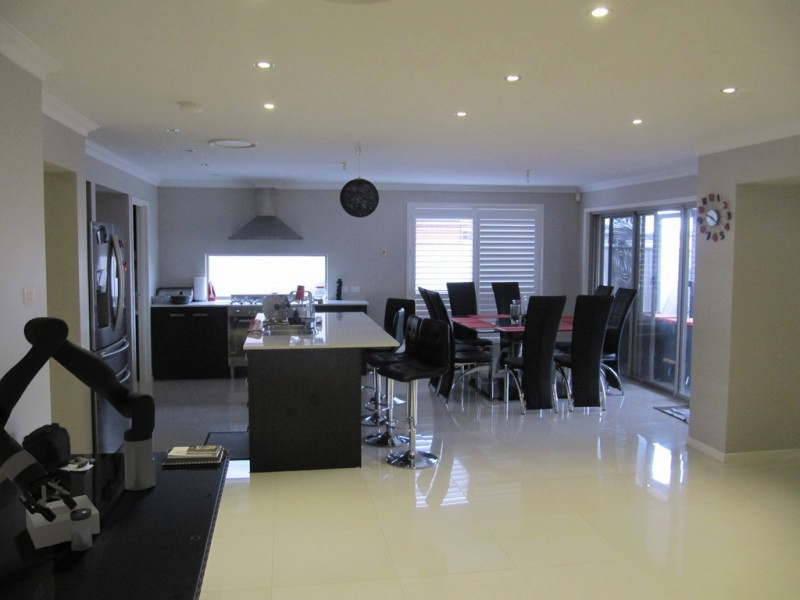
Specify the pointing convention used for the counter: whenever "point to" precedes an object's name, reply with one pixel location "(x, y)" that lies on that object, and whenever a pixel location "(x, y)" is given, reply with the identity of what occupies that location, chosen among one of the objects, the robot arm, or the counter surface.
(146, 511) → the counter surface
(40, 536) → the grey block with recess
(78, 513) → the lens
